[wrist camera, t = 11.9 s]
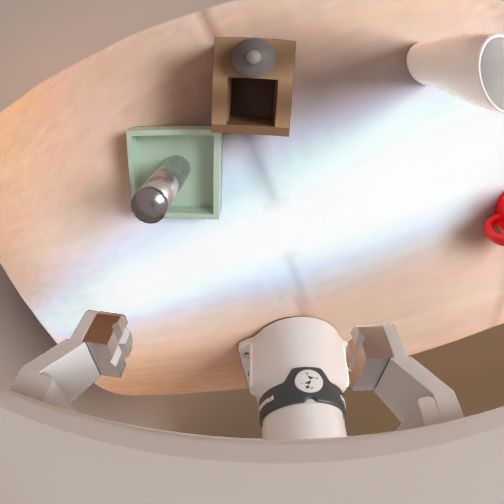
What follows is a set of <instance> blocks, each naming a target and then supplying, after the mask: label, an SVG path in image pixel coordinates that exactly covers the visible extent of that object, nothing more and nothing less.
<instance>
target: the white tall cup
mask: <svg viewBox="0 0 504 504" xmlns="http://www.w3.org/2000/svg"><path fill="white" fill-rule="evenodd" d="M406 63H407V68H408V70H409V72H410V74H411V76H412V77H413V78H414V79H415V80H416V81H417V82H419V83H420V84H422V85H425V86H429V87H433V88H436V89H438V90H441V91H444V92H446V93H448V94H451V95H453V96H455V97H458V98H460V99H462V100H465V101H467V102H469V103H472V104H474V105H477V106H479V107H482V108H485V109H488V110H492V111H495V112H499V113H503V114H504V34H496V33H466V34H460V35H455V36H450V37H446V38H441V39H437V40H432V41H427V42H419V43H416V44H414V45H413V46H412V47H411V48H410V49H409V51H408V53H407V58H406Z"/></svg>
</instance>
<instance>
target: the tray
mask: <svg viewBox="0 0 504 504" xmlns="http://www.w3.org/2000/svg"><path fill="white" fill-rule="evenodd" d="M126 140H127V155H128V167H129V178H130V188H131V198H133V196H134V195H135V193H136V192H137V191H138V190H139V189H140V188H141V187H142V186H143V184H144V183H145V182H146V181H147V180H148V179H149V178H150V177H151V176H152V175H153V174H154V172H155V171H156V170H157V169H158V168H159V167H160V166H161V165H162V164H163V163H164V162H165V161H166V160H167V159H168V158H169V157H171V156H175V155H178V156H182V157H184V158H185V159H186V160H187V161H188V162H189V164H190V174H189V176H188V178H187V179H186V181H185V182H184V184H183V186H182V187H181V189H180V191H179V192H178V194H177V195H176V197H175V199H174V200H173V202H172V204H171V205H170V207H169V209H168V210H167V212H166V214H165V216H164V217H175V218H200V219H219V216H220V212H221V176H222V133H211V126H210V125H173V126H141V127H133V128H131V129H129V130H127V131H126ZM133 215H134V213H133ZM134 216H135V215H134Z"/></svg>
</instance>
